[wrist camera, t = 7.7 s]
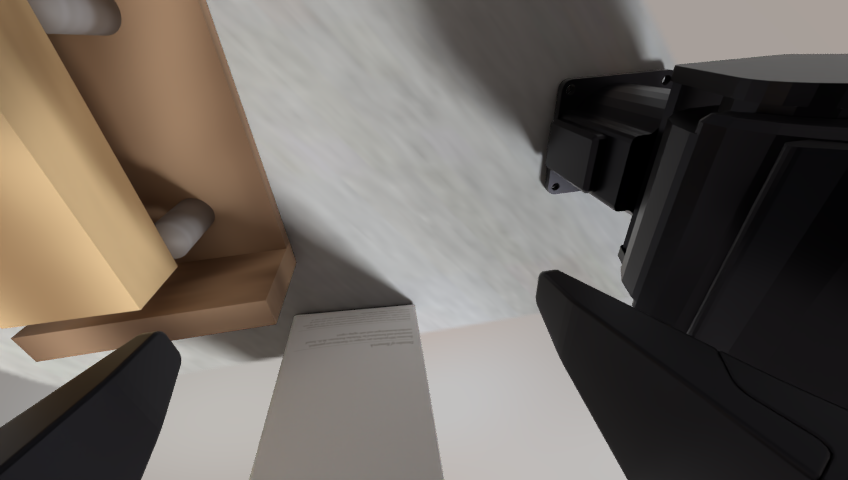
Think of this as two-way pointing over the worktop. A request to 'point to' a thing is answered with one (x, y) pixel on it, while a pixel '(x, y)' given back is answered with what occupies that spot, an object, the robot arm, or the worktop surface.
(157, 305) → the peg frame
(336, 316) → the supplement box
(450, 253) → the worktop surface
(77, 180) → the shelf board
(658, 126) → the robot arm
